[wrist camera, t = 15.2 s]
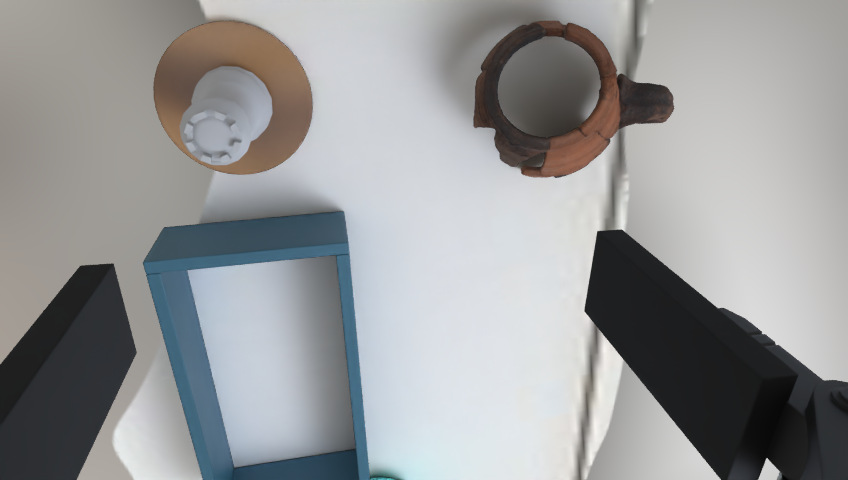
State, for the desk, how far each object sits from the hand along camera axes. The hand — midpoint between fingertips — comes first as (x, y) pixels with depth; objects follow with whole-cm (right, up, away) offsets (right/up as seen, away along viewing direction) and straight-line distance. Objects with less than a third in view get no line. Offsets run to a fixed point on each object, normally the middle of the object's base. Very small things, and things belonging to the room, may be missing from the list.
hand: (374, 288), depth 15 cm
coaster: (-10, +10, +18) cm, 22 cm away
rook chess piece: (-10, +10, +18) cm, 22 cm away
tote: (-10, -7, +26) cm, 29 cm away
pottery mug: (+10, +11, +21) cm, 26 cm away
